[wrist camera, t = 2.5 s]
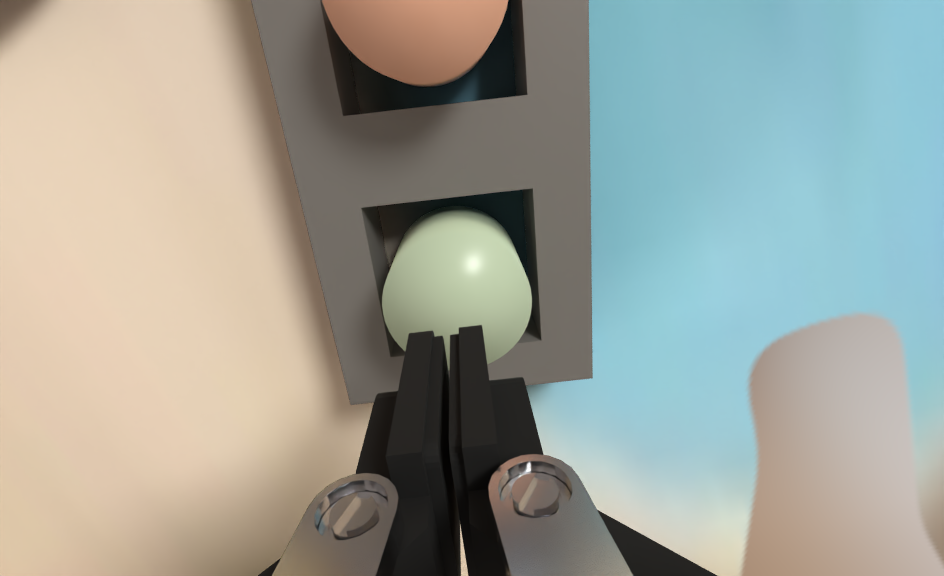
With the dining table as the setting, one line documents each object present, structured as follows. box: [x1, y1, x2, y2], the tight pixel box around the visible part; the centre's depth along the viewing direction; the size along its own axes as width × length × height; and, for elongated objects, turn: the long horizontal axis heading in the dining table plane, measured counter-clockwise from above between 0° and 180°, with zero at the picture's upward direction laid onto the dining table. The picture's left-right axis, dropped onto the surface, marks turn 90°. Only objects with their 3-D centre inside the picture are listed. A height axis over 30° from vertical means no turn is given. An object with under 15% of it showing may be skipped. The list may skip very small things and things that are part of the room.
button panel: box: [251, 0, 592, 405], centre depth 15 cm, size 10×28×3 cm, turn 6°
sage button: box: [382, 206, 532, 370], centre depth 17 cm, size 5×5×4 cm
